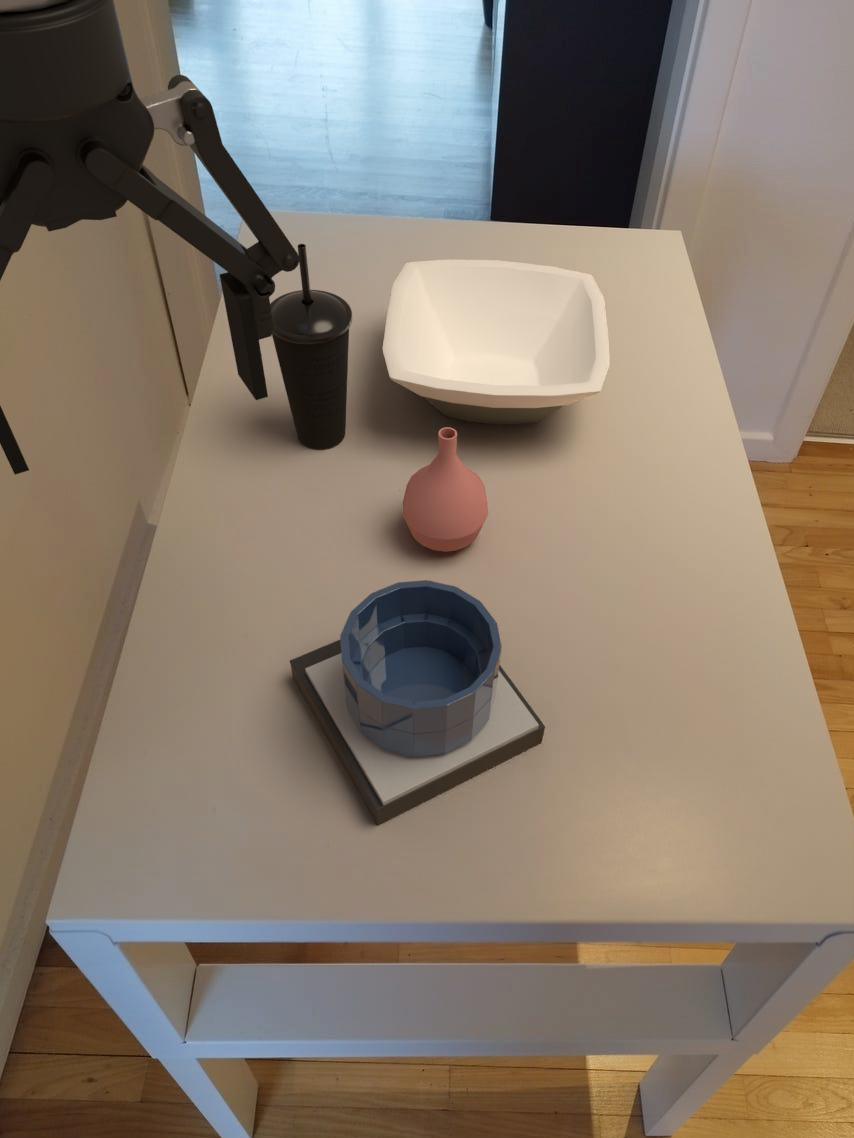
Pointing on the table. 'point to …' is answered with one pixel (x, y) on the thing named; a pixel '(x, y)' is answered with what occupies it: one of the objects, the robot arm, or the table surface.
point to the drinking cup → (313, 359)
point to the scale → (398, 777)
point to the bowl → (496, 338)
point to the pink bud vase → (445, 500)
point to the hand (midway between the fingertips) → (139, 420)
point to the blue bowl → (420, 667)
